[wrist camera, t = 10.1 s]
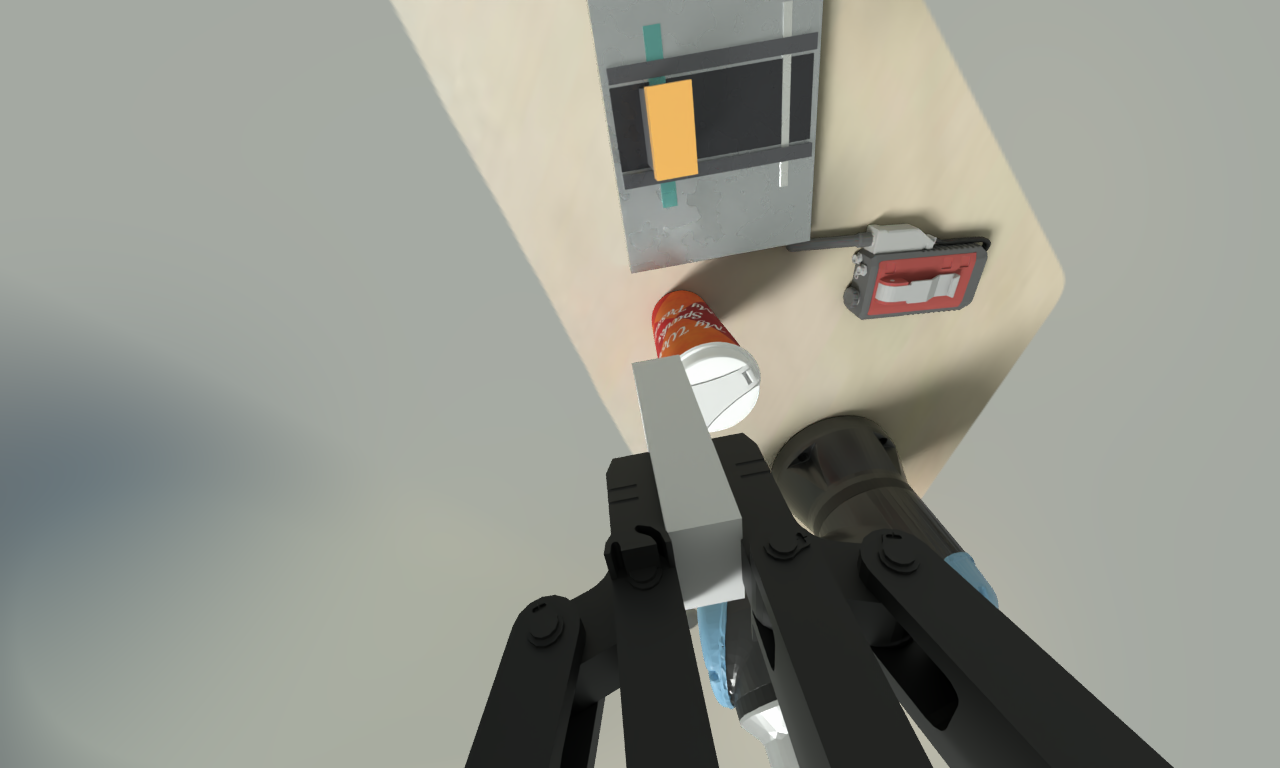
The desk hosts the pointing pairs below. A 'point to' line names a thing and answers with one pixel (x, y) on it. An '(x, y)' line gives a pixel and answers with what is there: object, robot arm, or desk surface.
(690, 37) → the console board
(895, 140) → the desk surface
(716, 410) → the paper cup
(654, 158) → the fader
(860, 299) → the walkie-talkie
